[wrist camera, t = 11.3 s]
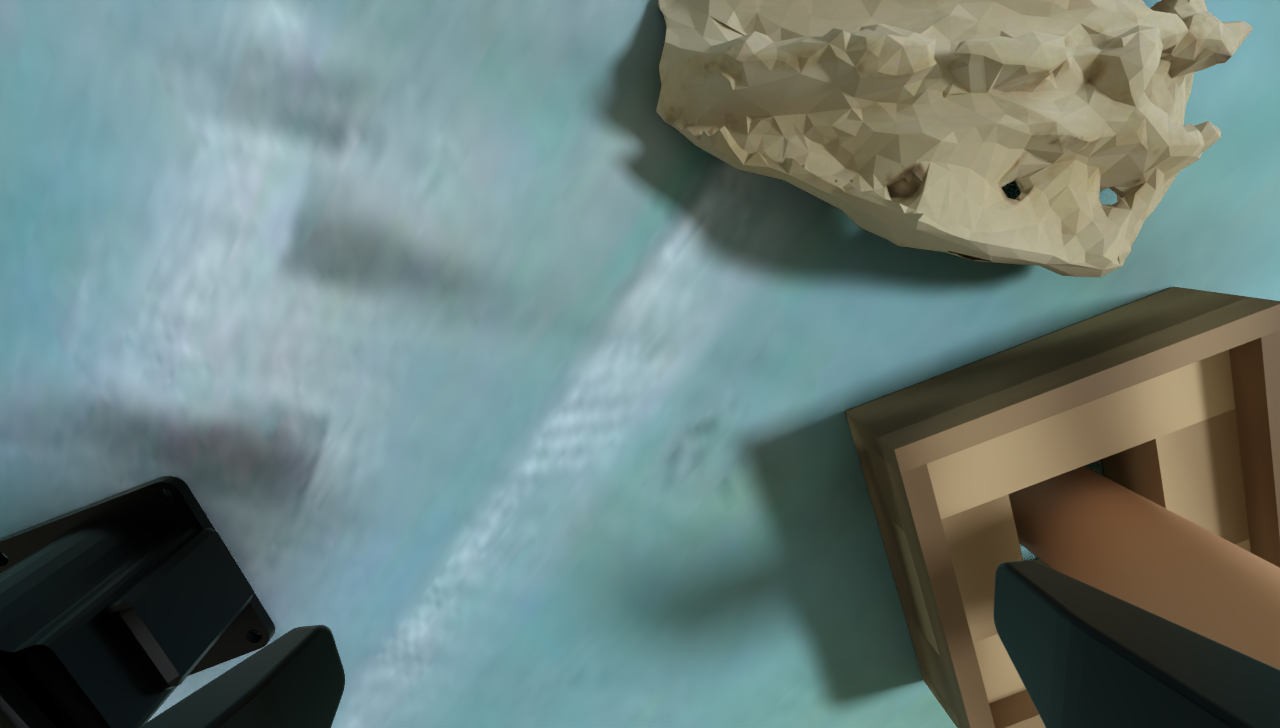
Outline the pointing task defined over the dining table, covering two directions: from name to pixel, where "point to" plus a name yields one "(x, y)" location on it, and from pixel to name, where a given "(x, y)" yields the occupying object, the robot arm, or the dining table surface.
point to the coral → (954, 113)
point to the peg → (1152, 559)
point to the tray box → (1067, 463)
